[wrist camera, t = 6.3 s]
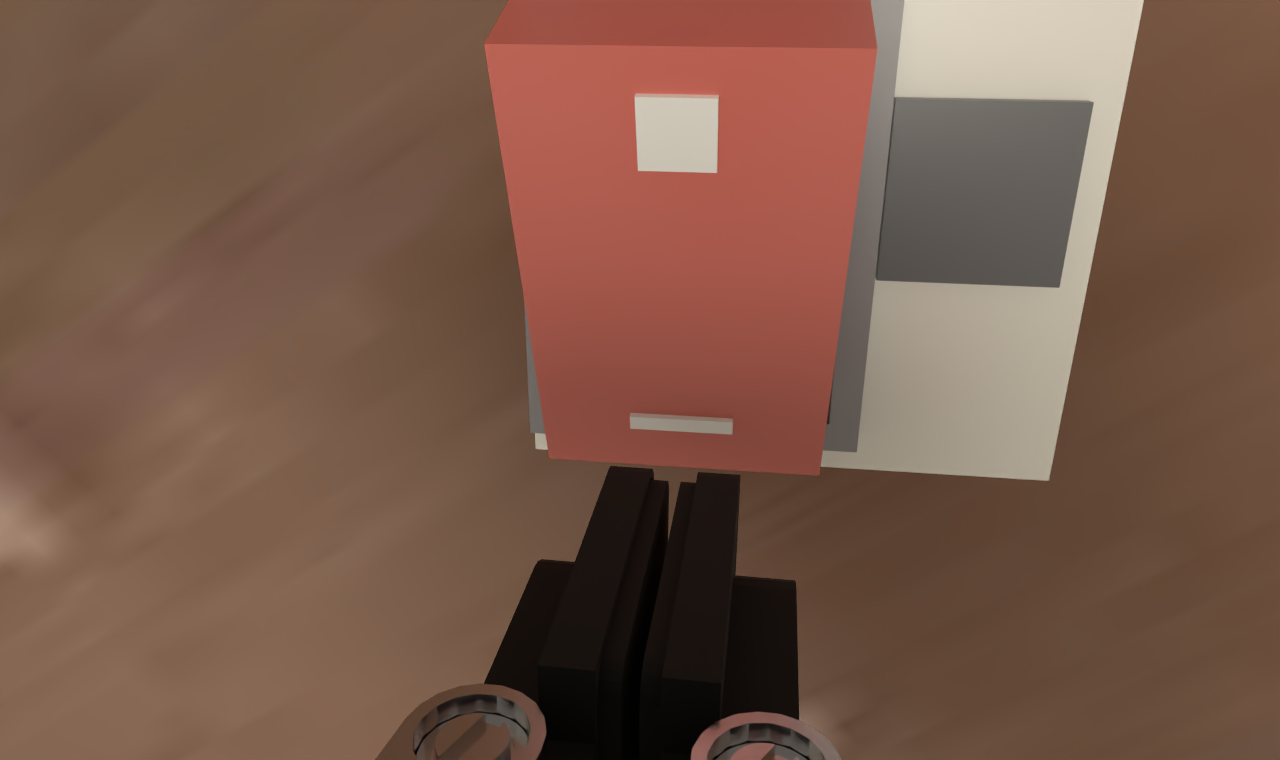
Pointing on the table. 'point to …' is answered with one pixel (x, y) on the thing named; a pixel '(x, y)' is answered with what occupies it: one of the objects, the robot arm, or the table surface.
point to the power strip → (971, 233)
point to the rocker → (684, 219)
